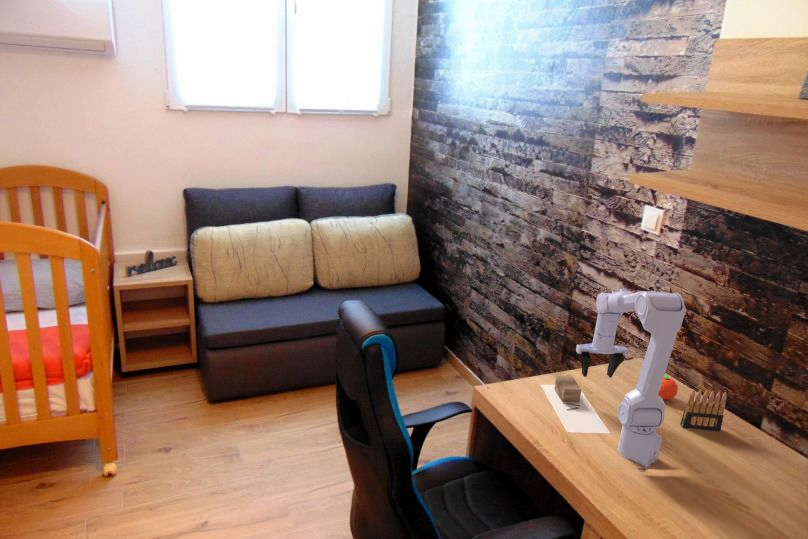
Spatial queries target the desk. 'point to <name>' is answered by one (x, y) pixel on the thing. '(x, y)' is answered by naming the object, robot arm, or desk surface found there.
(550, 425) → the desk surface
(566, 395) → the block
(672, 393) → the clementine
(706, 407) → the ammunition clip
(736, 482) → the desk surface
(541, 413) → the desk surface
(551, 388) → the plank
